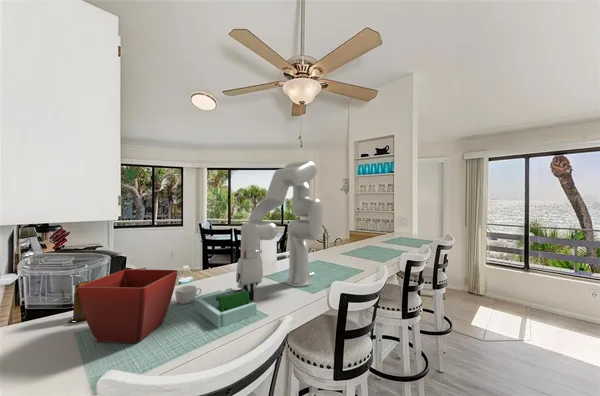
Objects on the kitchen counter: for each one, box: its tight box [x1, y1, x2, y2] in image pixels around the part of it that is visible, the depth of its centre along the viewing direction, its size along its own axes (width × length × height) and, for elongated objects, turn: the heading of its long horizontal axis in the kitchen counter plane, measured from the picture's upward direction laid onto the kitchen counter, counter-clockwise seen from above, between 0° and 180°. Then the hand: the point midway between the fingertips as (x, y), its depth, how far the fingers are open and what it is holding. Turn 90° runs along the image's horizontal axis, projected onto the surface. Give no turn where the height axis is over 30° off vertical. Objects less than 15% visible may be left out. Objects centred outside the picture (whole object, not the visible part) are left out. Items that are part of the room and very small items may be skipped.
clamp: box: [216, 291, 251, 312], centre depth 97 cm, size 12×6×9 cm, turn 121°
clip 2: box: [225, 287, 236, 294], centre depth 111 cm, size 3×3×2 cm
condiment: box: [64, 280, 92, 327], centre depth 87 cm, size 7×8×12 cm
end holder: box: [193, 289, 257, 329], centre depth 94 cm, size 14×20×4 cm
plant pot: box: [78, 268, 178, 344], centre depth 79 cm, size 19×19×17 cm
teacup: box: [174, 284, 202, 305], centre depth 104 cm, size 10×8×5 cm
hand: (249, 300), depth 103 cm, fingers closed
